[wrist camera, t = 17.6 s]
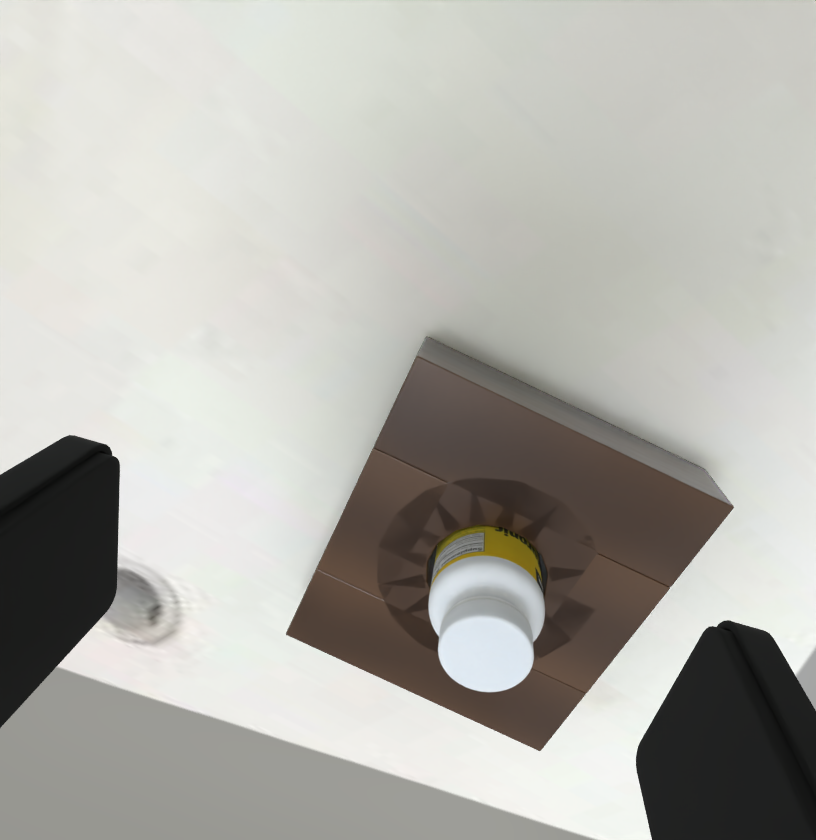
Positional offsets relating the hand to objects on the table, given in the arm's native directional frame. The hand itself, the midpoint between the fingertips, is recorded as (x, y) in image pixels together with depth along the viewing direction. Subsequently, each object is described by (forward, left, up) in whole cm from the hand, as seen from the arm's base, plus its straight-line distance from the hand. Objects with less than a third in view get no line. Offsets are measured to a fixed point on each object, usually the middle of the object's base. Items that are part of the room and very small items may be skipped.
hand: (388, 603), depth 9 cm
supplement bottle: (+4, +12, -22) cm, 25 cm away
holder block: (+4, +12, -22) cm, 25 cm away
